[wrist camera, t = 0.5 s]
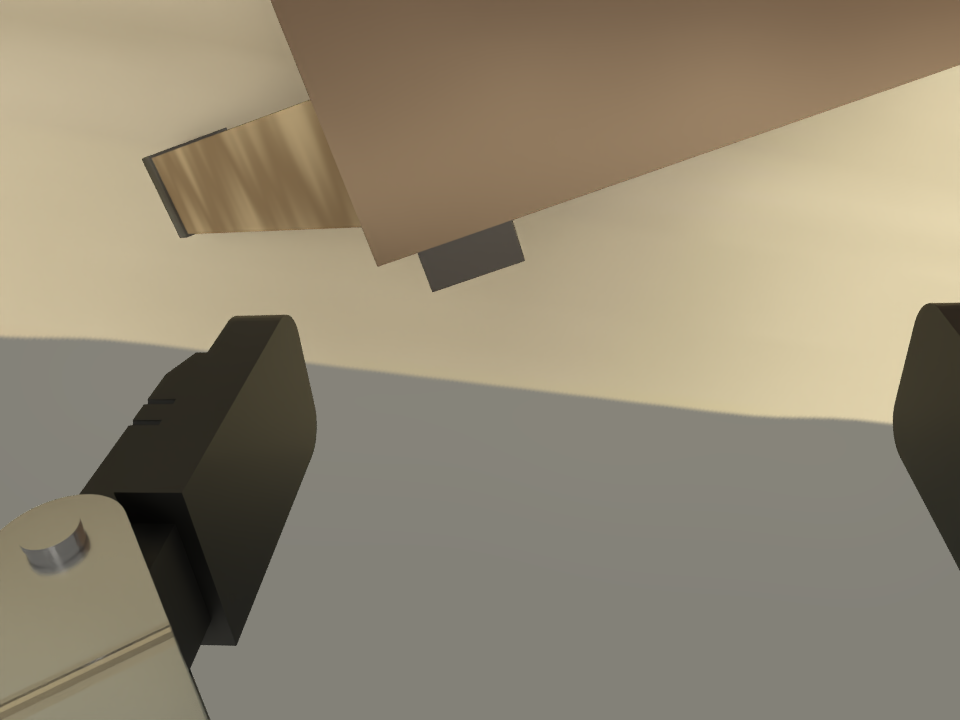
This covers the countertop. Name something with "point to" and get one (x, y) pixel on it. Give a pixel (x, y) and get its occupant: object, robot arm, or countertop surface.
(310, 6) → the walnut stool
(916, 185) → the countertop surface
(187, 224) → the oak leg
